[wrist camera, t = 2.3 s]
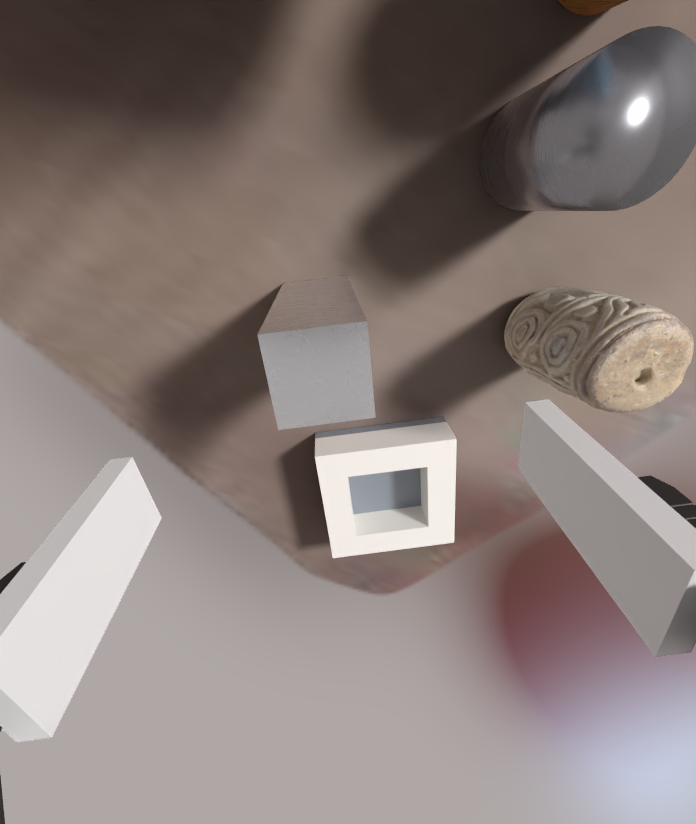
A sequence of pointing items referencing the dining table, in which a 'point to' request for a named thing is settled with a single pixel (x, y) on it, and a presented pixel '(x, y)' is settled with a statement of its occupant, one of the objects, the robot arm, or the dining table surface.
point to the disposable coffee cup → (589, 6)
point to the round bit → (597, 128)
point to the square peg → (317, 354)
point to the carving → (600, 347)
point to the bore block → (388, 485)
